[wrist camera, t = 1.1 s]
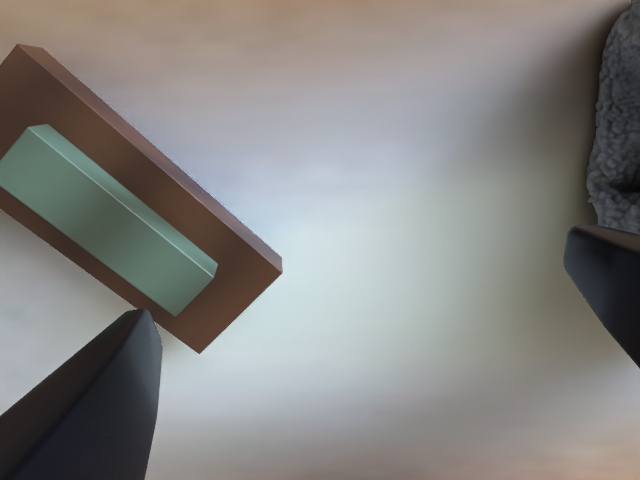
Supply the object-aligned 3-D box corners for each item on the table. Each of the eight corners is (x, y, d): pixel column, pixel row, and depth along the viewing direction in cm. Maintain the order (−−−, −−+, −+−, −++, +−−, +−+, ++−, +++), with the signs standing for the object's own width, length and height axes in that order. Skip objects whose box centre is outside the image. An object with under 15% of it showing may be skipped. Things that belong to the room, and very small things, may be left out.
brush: (281, 248, 24) (283, 286, 20) (208, 321, 25) (193, 374, 21) (57, 50, 20) (-8, 38, 16) (-20, 145, 21) (-104, 162, 16)
